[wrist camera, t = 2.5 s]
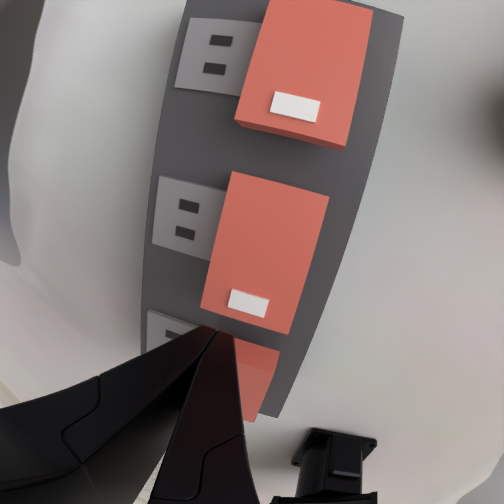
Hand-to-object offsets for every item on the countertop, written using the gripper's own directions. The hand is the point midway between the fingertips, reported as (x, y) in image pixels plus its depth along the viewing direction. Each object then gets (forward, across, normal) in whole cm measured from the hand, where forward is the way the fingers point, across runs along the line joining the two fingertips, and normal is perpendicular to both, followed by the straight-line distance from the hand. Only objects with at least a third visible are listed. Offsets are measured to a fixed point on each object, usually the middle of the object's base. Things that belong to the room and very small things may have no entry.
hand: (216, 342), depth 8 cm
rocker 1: (+6, 0, -8) cm, 10 cm away
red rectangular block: (+6, 0, +8) cm, 10 cm away
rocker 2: (+6, 0, 0) cm, 6 cm away
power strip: (+12, +1, -5) cm, 13 cm away
